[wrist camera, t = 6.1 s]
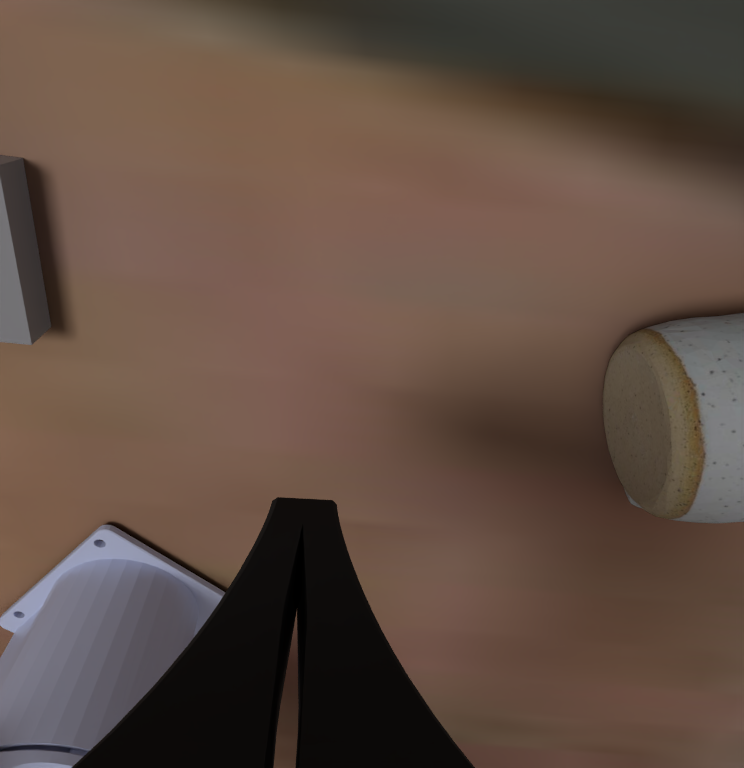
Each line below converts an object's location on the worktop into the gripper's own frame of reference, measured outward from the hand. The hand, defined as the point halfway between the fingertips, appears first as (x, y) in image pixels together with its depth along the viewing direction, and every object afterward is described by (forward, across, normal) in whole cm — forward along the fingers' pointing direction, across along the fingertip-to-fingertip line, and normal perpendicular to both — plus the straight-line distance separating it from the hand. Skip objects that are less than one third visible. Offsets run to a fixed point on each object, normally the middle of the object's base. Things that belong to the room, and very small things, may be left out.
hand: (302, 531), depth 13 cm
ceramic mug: (+11, -16, +1) cm, 19 cm away
